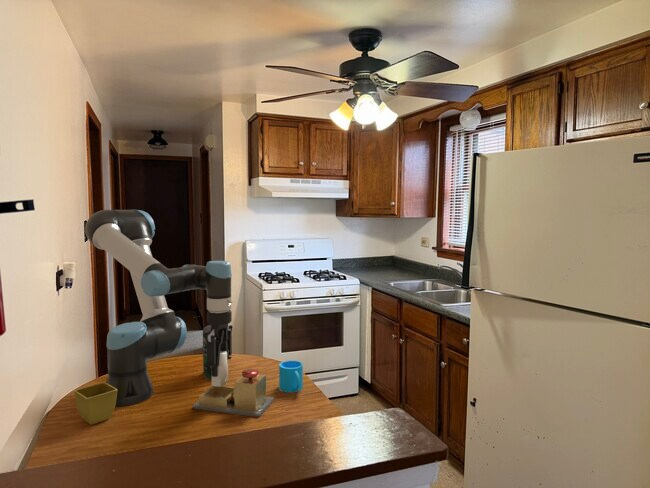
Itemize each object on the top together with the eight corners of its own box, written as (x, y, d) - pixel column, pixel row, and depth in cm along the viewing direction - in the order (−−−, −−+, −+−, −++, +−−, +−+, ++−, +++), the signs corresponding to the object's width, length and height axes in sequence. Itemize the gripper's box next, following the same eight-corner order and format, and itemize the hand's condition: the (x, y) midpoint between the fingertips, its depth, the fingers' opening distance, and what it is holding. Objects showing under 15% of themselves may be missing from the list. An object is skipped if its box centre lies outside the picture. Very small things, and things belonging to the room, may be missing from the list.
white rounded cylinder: (210, 385, 138) (210, 354, 137) (217, 380, 142) (217, 350, 141) (223, 386, 137) (222, 355, 136) (229, 381, 141) (229, 351, 140)
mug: (276, 385, 154) (276, 362, 154) (297, 381, 158) (297, 359, 157) (287, 398, 143) (287, 374, 143) (310, 394, 147) (310, 370, 146)
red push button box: (193, 408, 136) (192, 373, 135) (212, 392, 147) (212, 360, 146) (259, 417, 130) (259, 381, 129) (274, 400, 142) (274, 367, 141)
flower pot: (105, 409, 134) (104, 381, 133) (119, 418, 128) (118, 389, 128) (74, 420, 127) (73, 390, 126) (87, 430, 122) (86, 398, 121)
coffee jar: (201, 372, 165) (201, 324, 164) (222, 369, 168) (222, 322, 167) (205, 381, 156) (204, 330, 155) (227, 378, 160) (227, 328, 158)
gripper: (216, 317, 128) (217, 395, 130) (242, 305, 145) (242, 374, 147) (193, 315, 130) (194, 392, 132) (221, 303, 147) (222, 371, 149)
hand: (220, 382), depth 139 cm, fingers closed on white rounded cylinder, 4 cm apart
